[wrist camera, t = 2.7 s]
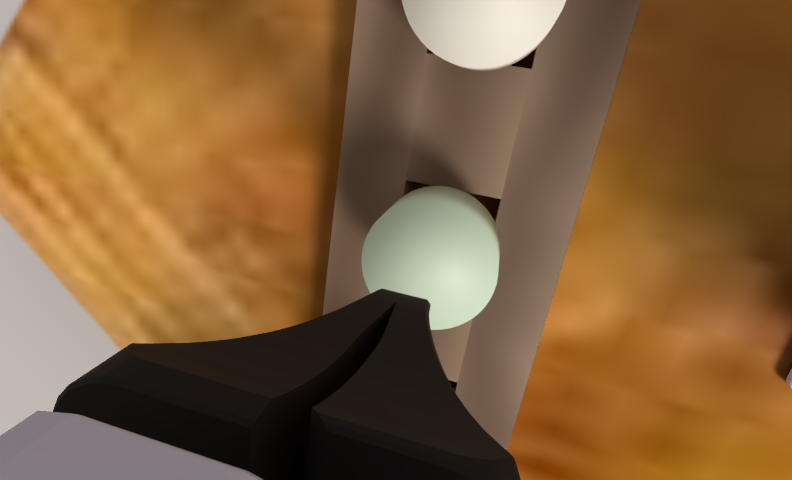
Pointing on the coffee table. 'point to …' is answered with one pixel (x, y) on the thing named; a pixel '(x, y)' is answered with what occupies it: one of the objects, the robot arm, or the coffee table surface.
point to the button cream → (482, 29)
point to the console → (478, 172)
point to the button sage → (435, 253)
